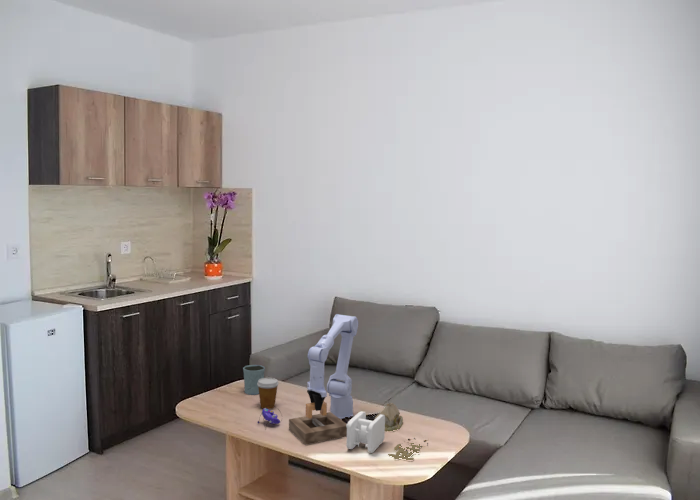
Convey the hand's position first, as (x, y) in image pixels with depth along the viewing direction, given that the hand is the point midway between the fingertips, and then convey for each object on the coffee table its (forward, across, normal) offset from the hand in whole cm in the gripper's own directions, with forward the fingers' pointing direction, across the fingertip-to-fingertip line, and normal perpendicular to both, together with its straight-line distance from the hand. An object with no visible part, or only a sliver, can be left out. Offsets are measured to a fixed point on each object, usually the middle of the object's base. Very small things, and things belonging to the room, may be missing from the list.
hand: (316, 408), depth 249 cm
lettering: (+10, +30, +26) cm, 41 cm away
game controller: (+10, -14, -15) cm, 23 cm away
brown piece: (+10, +2, 0) cm, 10 cm away
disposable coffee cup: (+10, -34, -8) cm, 36 cm away
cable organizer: (+10, +21, +11) cm, 26 cm away
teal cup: (+10, -55, -7) cm, 56 cm away
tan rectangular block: (+3, 0, 0) cm, 3 cm away
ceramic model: (+10, +7, +30) cm, 33 cm away
